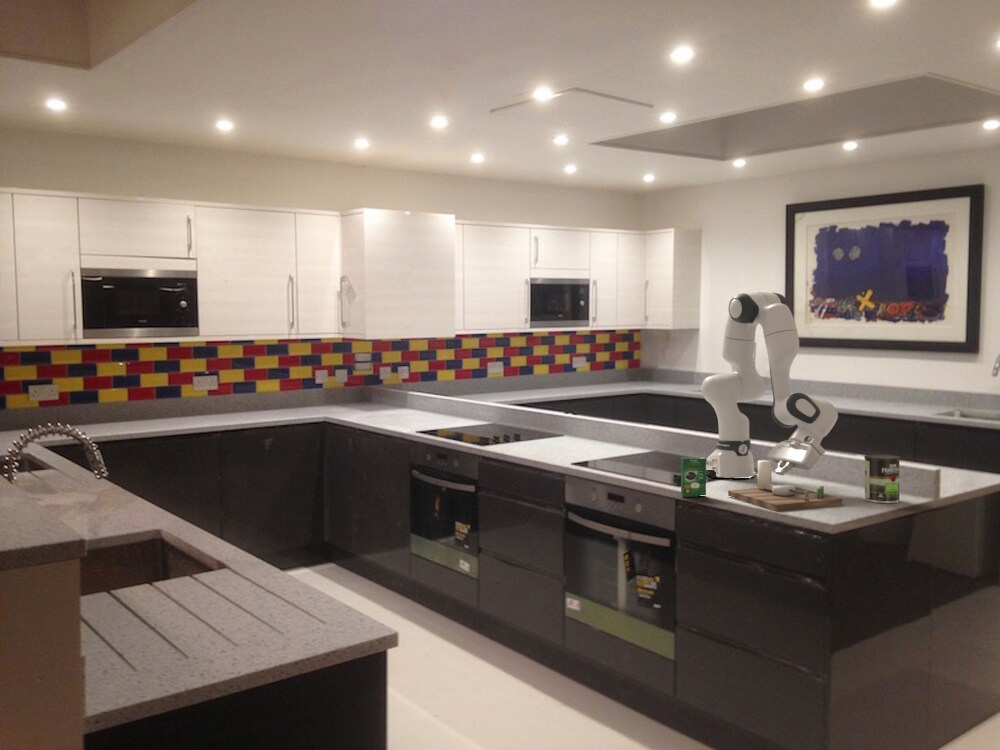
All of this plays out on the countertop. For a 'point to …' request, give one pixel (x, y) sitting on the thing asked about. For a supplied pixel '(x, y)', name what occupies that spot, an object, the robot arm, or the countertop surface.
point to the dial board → (786, 499)
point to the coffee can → (882, 478)
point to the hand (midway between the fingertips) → (778, 473)
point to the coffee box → (693, 477)
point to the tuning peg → (766, 481)
